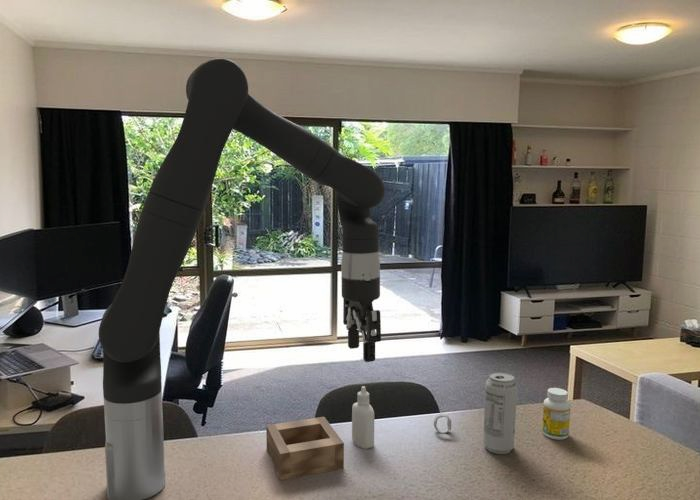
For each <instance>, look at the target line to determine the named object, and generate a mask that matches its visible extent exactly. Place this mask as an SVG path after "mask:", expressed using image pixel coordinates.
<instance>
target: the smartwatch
mask: <svg viewBox="0 0 700 500" xmlns="http://www.w3.org/2000/svg"><path fill="white" fill-rule="evenodd" d="M443 417H444V418H446V419H447V425H446V428H445V429H439V428H438V426H437V424H438V420H439V419H440V418H443ZM433 427H434V429H435V430H436V431H437V432H438V433H440V434H446V433H448V432H449V431H451V430H452V418H451V417H450V416H449V415H448V414H447V413H438V414H437V415H435V417H434V420H433Z"/></svg>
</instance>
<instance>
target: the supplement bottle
mask: <svg viewBox="0 0 700 500" xmlns="http://www.w3.org/2000/svg"><path fill="white" fill-rule="evenodd" d="M546 395H547V397H546V398H545V399H544V400H543V408H542V423H541V424H542V425H541V432H542V434H543V435H544V436H545V437H547V438H549V439H553V440H557V441H559V440H560V441H561V440H562V441H563V440H566V439H567V438H569V435H570V421H571V420H570V419H571V404H570V401H568V398H569V392H568V391H567V390H565V389H563V388H559V387H549V388H548V389H547V394H546Z"/></svg>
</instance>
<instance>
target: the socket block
mask: <svg viewBox="0 0 700 500" xmlns="http://www.w3.org/2000/svg"><path fill="white" fill-rule="evenodd" d="M265 426H266V427H265V428H266V435H265V436H266V451H267V452H268V455H269V457H270V460H271V462H272V464H273V467H274V469H275V471H276V473H277V475H278V478H279V480H280V481H282V480H290V479H294V478H300V477H305V476H309V475H315V474H321V473H326V472H332V471H338V470H343V469H344V468H345V463H344V462H345V442H344V441H343V440H342V439H341V437H340V436H339V434H338V433H337V432H336V430H335V429H334V428H333V427H332V425H331V424H330V422H329V421H328V420H327V418H326V417H325V416H320V417H313V418H312V417H311V418H307V419H305V418H304V419H300V420H293V421H287V422H286V421H285V422H280V423H279V422H278V423H273V424H267V425H265Z"/></svg>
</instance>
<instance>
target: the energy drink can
mask: <svg viewBox="0 0 700 500" xmlns="http://www.w3.org/2000/svg"><path fill="white" fill-rule="evenodd" d="M484 390H485V392H484V393H485V394H484V412H483V413H484V414H483V417H484V418H483V437H482V438H483V439H482V443H483V445H484V446H485V448H486V450H487V451H488V452H490V453H493V454H498V455H507V454H509V453H510V452H511V451H512V449H514V448H515V435H516V434H515V433H516V415H517V396H518V394H517V393H518V385H517V382H516V381H515V376H514V375H512V374H510V373H507V372H500V371H499V372H495V371H494V372H492V373H489V375H488V379H486V381H485V389H484Z"/></svg>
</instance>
